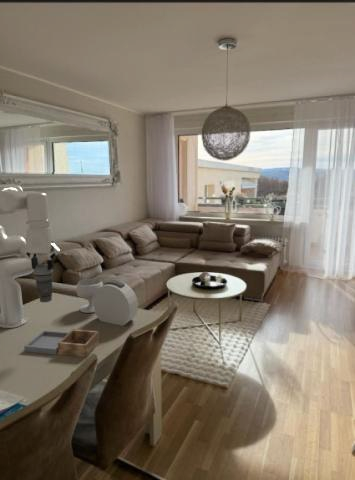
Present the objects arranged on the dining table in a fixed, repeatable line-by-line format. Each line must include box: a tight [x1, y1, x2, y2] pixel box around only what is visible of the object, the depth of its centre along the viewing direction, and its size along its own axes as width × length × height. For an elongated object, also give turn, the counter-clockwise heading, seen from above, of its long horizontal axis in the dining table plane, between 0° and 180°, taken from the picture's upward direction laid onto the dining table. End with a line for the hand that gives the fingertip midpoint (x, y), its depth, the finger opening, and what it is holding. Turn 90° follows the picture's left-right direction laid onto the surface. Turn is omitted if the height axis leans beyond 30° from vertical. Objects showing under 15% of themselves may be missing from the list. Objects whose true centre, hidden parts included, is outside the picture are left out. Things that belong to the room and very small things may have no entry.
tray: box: [23, 330, 70, 355], centre depth 140 cm, size 14×14×2 cm
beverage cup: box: [33, 254, 54, 303], centre depth 134 cm, size 7×7×20 cm
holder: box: [58, 329, 101, 358], centre depth 136 cm, size 12×12×5 cm
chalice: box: [75, 278, 104, 314], centre depth 175 cm, size 14×14×15 cm
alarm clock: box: [93, 279, 139, 327], centre depth 161 cm, size 21×8×20 cm, turn 65°
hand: (43, 268), depth 134 cm, fingers closed on beverage cup, 6 cm apart
